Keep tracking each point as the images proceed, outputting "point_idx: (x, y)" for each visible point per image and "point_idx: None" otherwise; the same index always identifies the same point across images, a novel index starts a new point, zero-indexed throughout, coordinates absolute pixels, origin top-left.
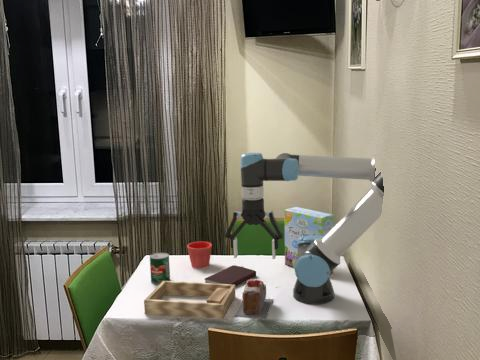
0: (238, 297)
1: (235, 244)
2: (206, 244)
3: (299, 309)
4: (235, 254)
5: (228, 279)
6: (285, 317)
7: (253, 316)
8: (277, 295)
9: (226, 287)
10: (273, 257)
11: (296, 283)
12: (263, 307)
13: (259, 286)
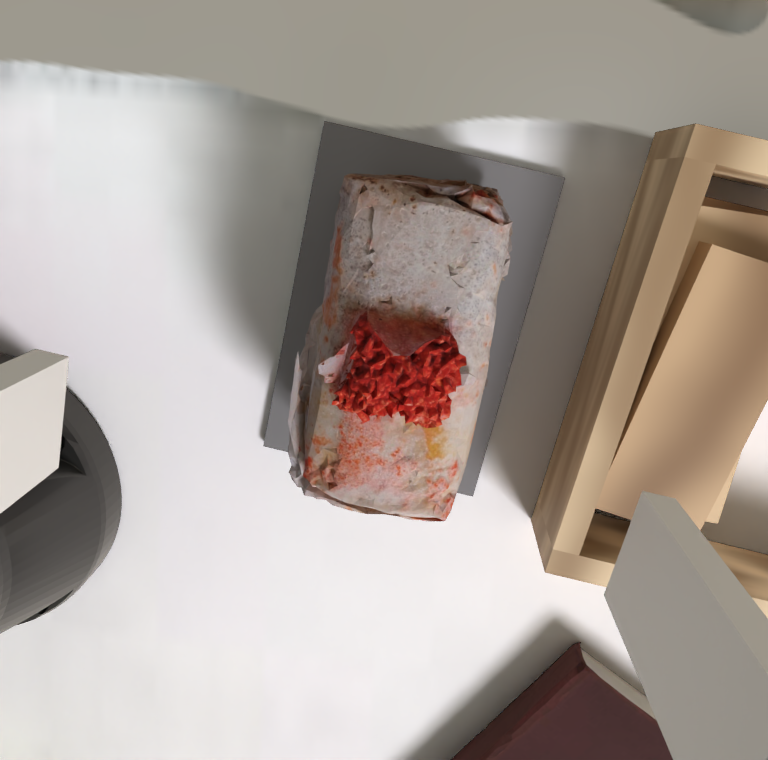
0: (508, 515)
1: (739, 634)
2: None
3: (83, 270)
4: (669, 521)
5: (571, 756)
6: (185, 135)
7: (421, 146)
8: (230, 520)
9: (615, 554)
10: (38, 360)
11: (45, 521)
12: None
13: (342, 330)
